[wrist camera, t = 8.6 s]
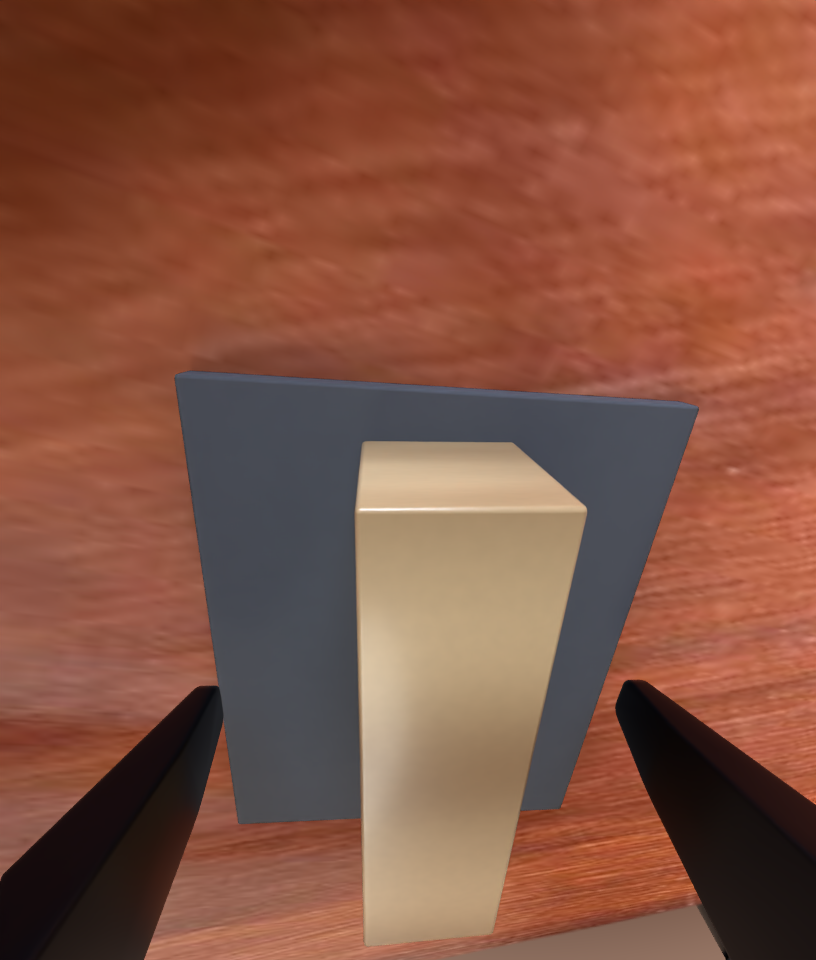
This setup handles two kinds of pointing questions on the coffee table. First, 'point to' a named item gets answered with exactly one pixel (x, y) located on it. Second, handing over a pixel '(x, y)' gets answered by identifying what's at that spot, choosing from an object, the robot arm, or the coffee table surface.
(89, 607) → the coffee table surface
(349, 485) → the grey mat
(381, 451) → the maple bar
